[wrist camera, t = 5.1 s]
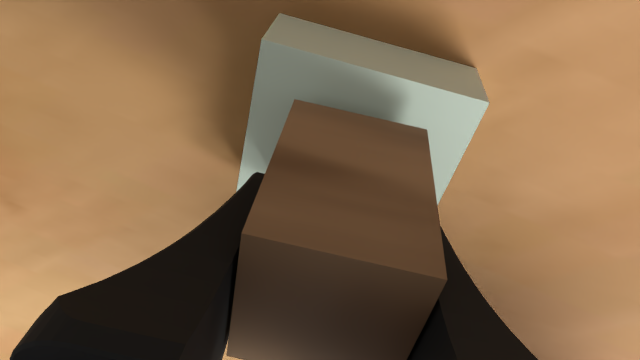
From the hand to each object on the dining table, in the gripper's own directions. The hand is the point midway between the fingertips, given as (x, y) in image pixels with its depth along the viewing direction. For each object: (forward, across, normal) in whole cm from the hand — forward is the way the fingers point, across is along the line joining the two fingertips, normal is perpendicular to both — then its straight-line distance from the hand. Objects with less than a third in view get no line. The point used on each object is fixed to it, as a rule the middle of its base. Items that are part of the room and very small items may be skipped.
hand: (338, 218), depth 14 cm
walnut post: (+2, 0, 0) cm, 2 cm away
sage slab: (+6, 0, 0) cm, 6 cm away
